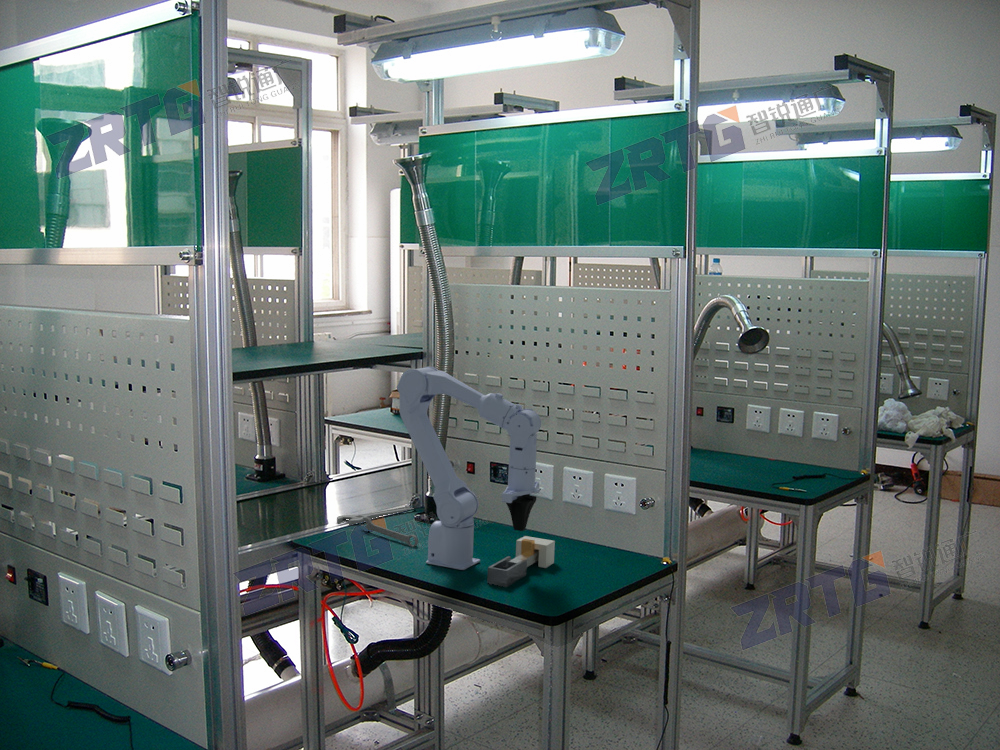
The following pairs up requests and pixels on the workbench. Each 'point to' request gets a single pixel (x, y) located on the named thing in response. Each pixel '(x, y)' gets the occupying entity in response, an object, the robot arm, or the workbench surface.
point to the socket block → (540, 550)
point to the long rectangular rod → (526, 553)
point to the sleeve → (506, 572)
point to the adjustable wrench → (369, 515)
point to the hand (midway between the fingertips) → (519, 529)
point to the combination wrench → (390, 532)
